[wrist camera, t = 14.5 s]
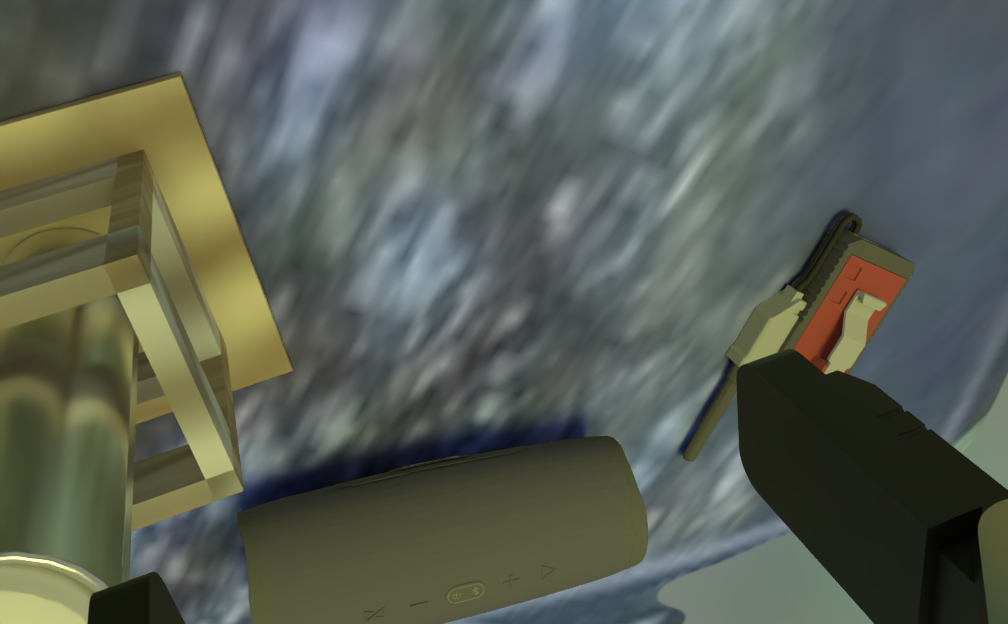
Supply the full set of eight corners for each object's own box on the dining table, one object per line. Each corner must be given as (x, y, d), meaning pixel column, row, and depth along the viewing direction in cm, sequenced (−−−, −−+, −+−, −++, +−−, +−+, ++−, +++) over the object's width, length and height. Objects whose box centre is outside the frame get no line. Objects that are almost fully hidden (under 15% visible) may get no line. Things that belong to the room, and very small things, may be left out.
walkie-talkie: (814, 193, 60) (665, 445, 65) (857, 217, 56) (695, 483, 62) (903, 236, 64) (755, 470, 69) (949, 261, 60) (789, 506, 66)
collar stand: (-201, 176, 41) (-349, 316, 29) (180, 71, 44) (185, 159, 32) (-18, 466, 50) (-74, 664, 38) (290, 362, 53) (327, 515, 41)
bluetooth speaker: (253, 582, 59) (268, 708, 50) (231, 463, 54) (243, 579, 46) (584, 506, 65) (647, 607, 56) (588, 394, 60) (657, 485, 52)
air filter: (107, 363, 48) (68, 776, 27) (-26, 316, 45) (-188, 743, 24) (163, 260, 47) (168, 611, 26) (30, 204, 43) (-90, 552, 22)
